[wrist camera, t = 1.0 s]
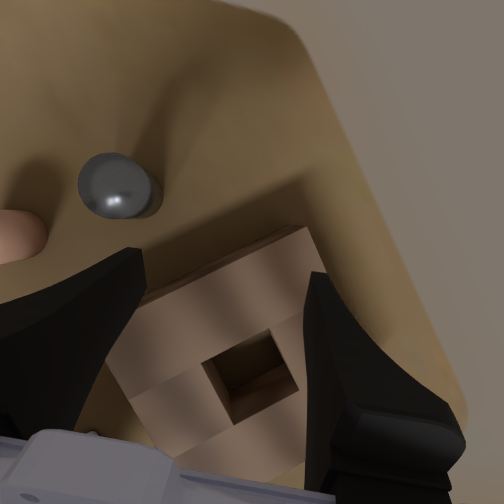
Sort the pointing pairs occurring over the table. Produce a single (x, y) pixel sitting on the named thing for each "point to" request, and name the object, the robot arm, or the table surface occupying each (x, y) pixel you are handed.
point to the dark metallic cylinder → (118, 188)
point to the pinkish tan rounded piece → (20, 235)
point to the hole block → (214, 342)
